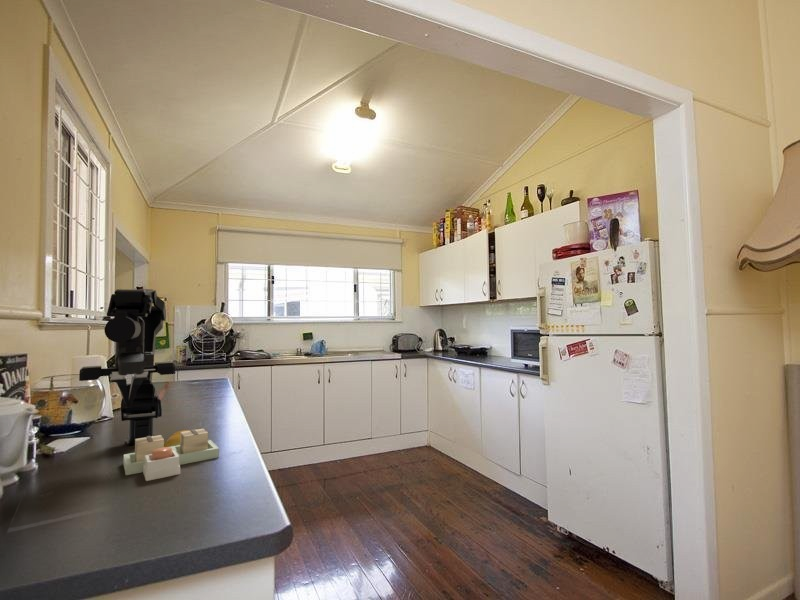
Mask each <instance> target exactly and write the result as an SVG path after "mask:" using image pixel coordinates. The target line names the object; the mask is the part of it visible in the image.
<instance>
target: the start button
mask: <svg viewBox="0 0 800 600" xmlns="http://www.w3.org/2000/svg"><path fill="white" fill-rule="evenodd" d="M169 457H172V448H171V447H163V448H158V449H155V450H153V451H152V461H153V460H158V459H164V458H169Z"/></svg>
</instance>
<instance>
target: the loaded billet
mask: <svg viewBox="0 0 800 600" xmlns="http://www.w3.org/2000/svg"><path fill="white" fill-rule="evenodd" d="M164 443H165V439H164V437H163V436H162V434H159V435H154V436H146V437H145V438H138V439H135V444H134V453H135V462H139V461H145V455H150V454H152V451H153V450H155V449H158V448H163V447H164Z"/></svg>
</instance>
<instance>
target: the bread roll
mask: <svg viewBox="0 0 800 600" xmlns="http://www.w3.org/2000/svg"><path fill="white" fill-rule="evenodd" d="M190 430H191V429H189V430H188V429H183V430H179V431H176V432H175V433H173V434H172V435H170V436H169V437H168V439H167V440H166V441H164V447H171V446H177V445H180V433H181V432H185V431H190Z"/></svg>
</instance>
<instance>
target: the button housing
mask: <svg viewBox="0 0 800 600" xmlns="http://www.w3.org/2000/svg"><path fill="white" fill-rule="evenodd" d="M142 474H143V476H144V479H145V481H146V482H148V481H153V480H157V479H163V478H167V477H171V476H177V475H181V465H179V455H178V454H177V452H176V451H175V450H173V451H172V457H169V458H164V459H158V460H153V461H152V454H150V455H145V465H143V472H142Z"/></svg>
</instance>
